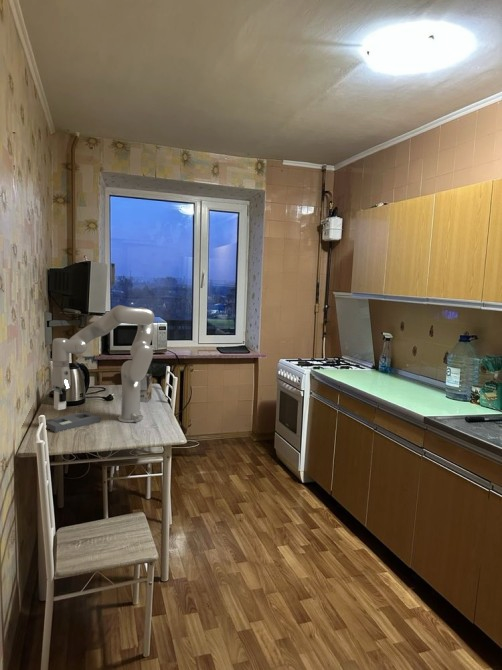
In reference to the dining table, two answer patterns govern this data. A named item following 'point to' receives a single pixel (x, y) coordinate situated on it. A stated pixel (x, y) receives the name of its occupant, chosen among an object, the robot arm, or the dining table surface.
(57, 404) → the white plug block
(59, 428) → the charcoal socket panel
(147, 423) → the dining table surface
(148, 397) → the coffee box
